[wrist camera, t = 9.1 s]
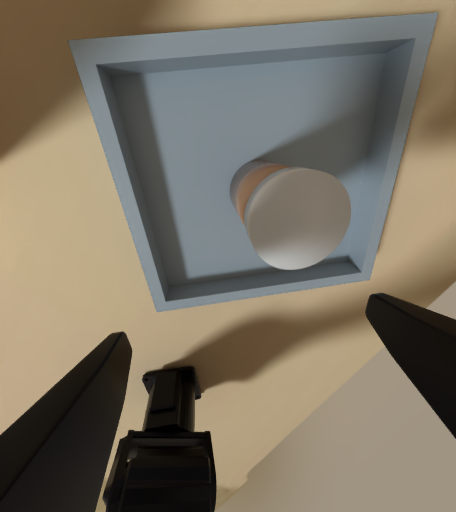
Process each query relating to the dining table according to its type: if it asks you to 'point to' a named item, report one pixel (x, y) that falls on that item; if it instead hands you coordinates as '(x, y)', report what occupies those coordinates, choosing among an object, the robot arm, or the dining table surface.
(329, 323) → the dining table surface
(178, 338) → the dining table surface
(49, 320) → the dining table surface
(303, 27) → the tray
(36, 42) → the dining table surface
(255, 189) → the shaker
